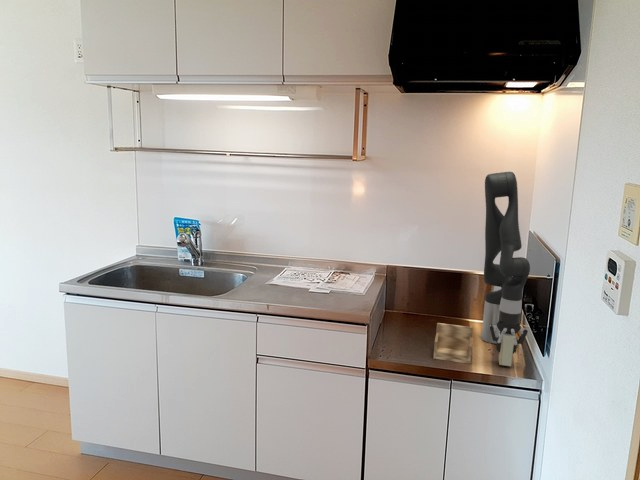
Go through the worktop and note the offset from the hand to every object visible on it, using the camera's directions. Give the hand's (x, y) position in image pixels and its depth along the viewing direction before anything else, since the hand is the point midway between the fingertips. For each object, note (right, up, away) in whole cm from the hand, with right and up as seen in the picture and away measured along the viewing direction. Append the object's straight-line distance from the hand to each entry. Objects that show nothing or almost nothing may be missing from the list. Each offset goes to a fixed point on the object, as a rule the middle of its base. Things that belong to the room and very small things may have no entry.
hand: (505, 351), depth 191 cm
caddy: (-18, -3, +8) cm, 20 cm away
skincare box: (0, -4, +1) cm, 5 cm away
